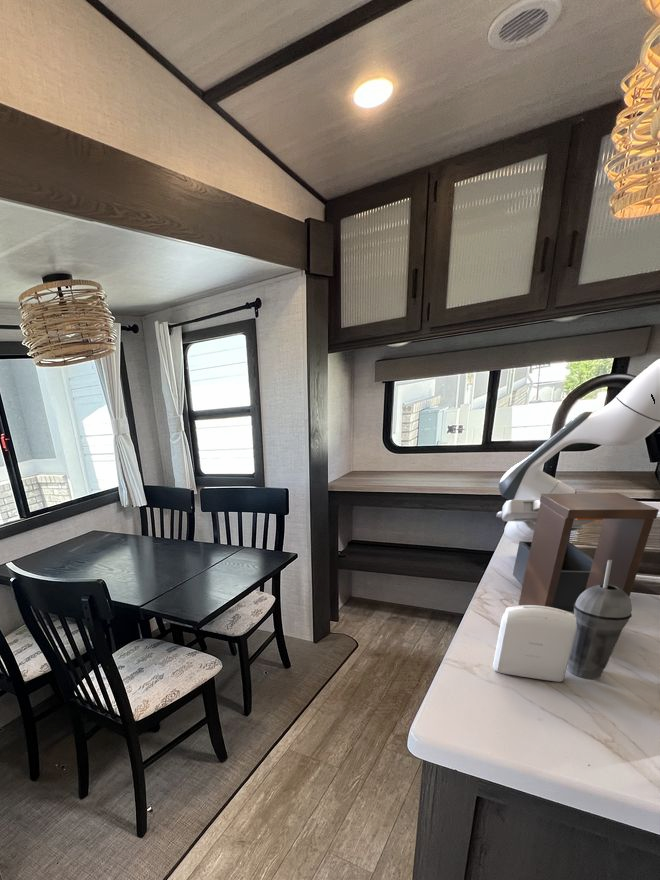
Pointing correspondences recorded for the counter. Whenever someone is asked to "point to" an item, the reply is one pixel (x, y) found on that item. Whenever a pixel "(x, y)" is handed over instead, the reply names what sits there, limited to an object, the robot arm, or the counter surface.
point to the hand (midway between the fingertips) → (565, 499)
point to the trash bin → (570, 576)
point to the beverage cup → (598, 627)
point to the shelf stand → (617, 543)
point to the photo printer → (535, 642)
